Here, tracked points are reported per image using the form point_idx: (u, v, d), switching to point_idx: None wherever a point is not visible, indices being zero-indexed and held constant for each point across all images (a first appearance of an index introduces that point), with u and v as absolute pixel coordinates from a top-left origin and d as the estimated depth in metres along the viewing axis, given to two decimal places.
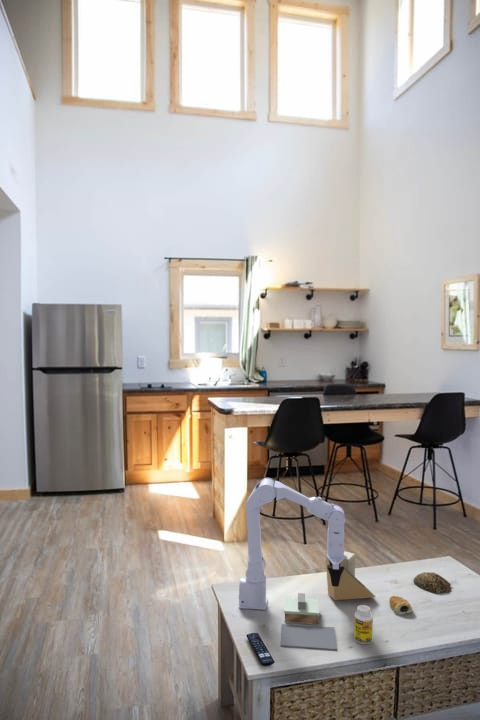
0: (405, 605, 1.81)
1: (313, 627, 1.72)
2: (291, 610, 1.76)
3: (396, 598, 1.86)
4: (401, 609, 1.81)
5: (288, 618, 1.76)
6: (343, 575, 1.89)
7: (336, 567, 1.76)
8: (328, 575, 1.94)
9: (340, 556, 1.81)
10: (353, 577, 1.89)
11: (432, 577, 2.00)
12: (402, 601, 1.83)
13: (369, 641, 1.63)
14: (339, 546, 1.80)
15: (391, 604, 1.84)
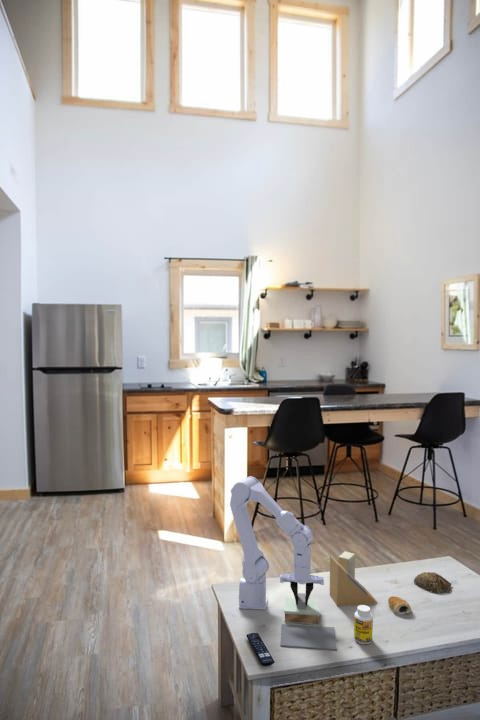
0: (404, 605, 1.81)
1: (313, 627, 1.72)
2: (291, 610, 1.76)
3: (395, 598, 1.85)
4: (401, 609, 1.81)
5: (288, 618, 1.76)
6: (347, 584, 1.86)
7: (280, 579, 1.80)
8: (331, 579, 1.92)
9: (295, 577, 1.78)
10: (357, 585, 1.87)
11: (433, 577, 2.00)
12: (401, 601, 1.83)
13: (369, 641, 1.63)
14: (294, 566, 1.78)
15: (390, 604, 1.84)
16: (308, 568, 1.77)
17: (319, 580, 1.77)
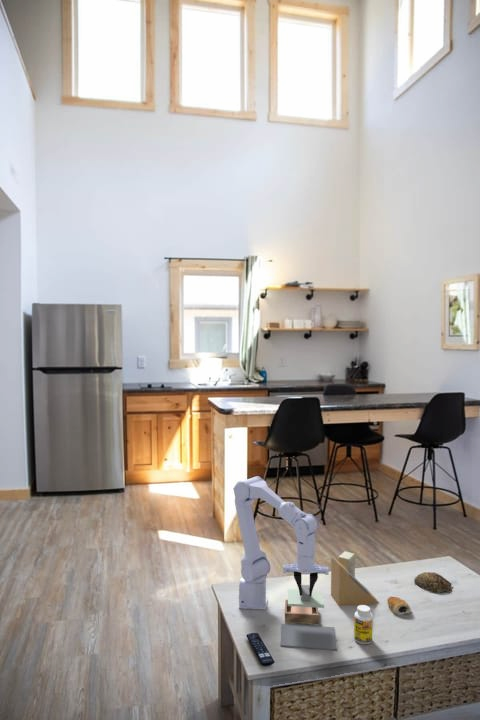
0: (404, 605, 1.81)
1: (313, 627, 1.72)
2: (295, 603, 1.69)
3: (394, 599, 1.85)
4: (400, 609, 1.81)
5: (288, 618, 1.76)
6: (349, 584, 1.86)
7: (283, 569, 1.73)
8: (333, 579, 1.92)
9: (298, 567, 1.71)
10: (359, 585, 1.87)
11: (433, 577, 2.00)
12: (400, 601, 1.83)
13: (369, 641, 1.63)
14: (297, 555, 1.71)
15: (389, 605, 1.84)
16: (312, 557, 1.70)
17: (324, 570, 1.71)
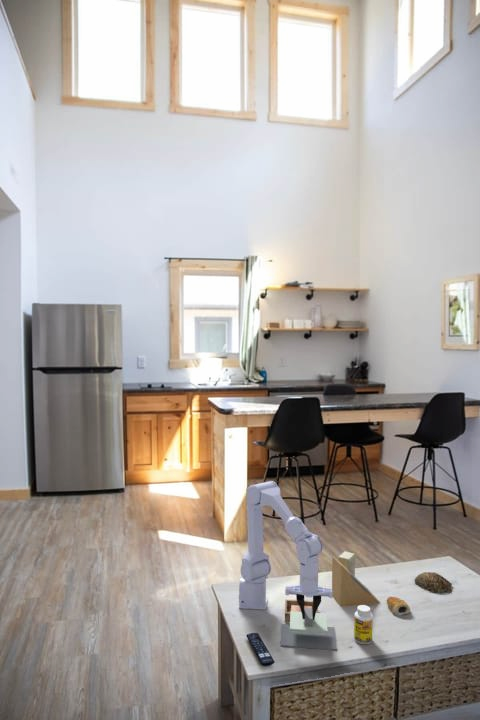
0: (403, 606, 1.81)
1: None
2: (298, 628, 1.63)
3: (394, 599, 1.85)
4: (400, 609, 1.81)
5: (288, 618, 1.76)
6: (350, 584, 1.86)
7: (285, 592, 1.67)
8: (334, 580, 1.91)
9: (301, 589, 1.65)
10: (360, 585, 1.87)
11: (433, 577, 2.00)
12: (400, 602, 1.83)
13: (369, 641, 1.63)
14: (300, 577, 1.65)
15: (389, 605, 1.84)
16: (315, 580, 1.64)
17: (327, 593, 1.64)
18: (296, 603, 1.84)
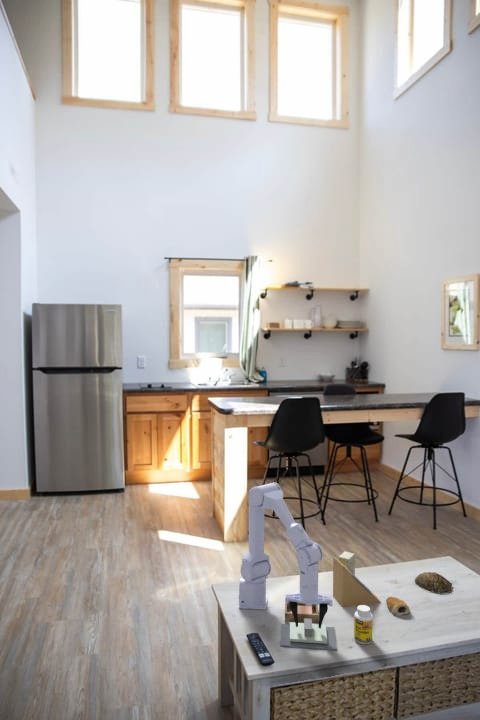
0: (403, 606, 1.81)
1: None
2: (297, 638, 1.63)
3: (393, 599, 1.85)
4: (399, 610, 1.81)
5: (288, 618, 1.76)
6: (352, 584, 1.86)
7: (285, 600, 1.67)
8: (335, 580, 1.91)
9: (301, 597, 1.65)
10: (361, 585, 1.87)
11: (434, 577, 2.00)
12: (399, 602, 1.83)
13: (369, 641, 1.63)
14: (300, 586, 1.65)
15: (388, 605, 1.84)
16: (315, 588, 1.64)
17: (327, 601, 1.65)
18: None
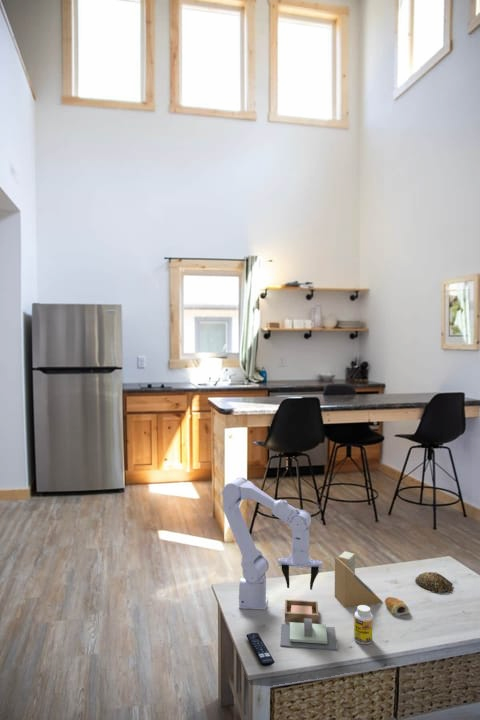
0: (402, 606, 1.81)
1: None
2: (297, 638, 1.63)
3: (392, 599, 1.85)
4: (398, 610, 1.80)
5: (288, 618, 1.76)
6: (354, 585, 1.86)
7: None
8: (337, 580, 1.91)
9: (293, 561, 1.78)
10: (364, 586, 1.87)
11: (434, 577, 2.00)
12: (398, 602, 1.83)
13: (369, 641, 1.63)
14: (292, 550, 1.78)
15: (387, 606, 1.83)
16: (306, 552, 1.77)
17: (317, 564, 1.78)
18: (296, 603, 1.84)
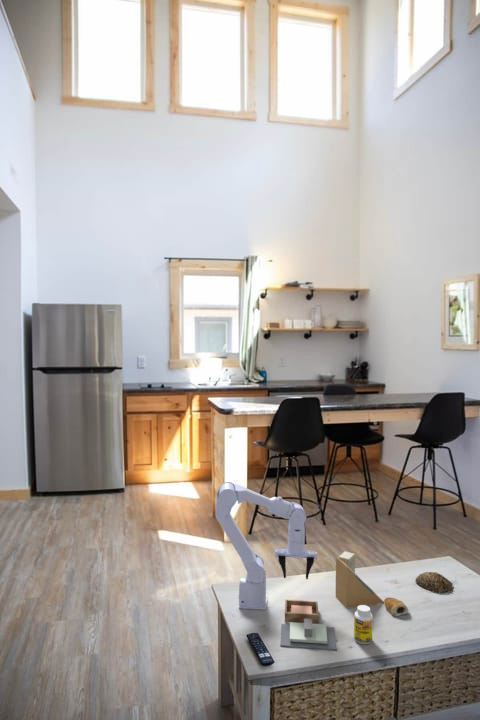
0: (401, 606, 1.80)
1: None
2: (297, 638, 1.63)
3: (391, 599, 1.85)
4: (398, 610, 1.80)
5: (288, 618, 1.76)
6: (355, 585, 1.85)
7: (275, 554, 1.87)
8: (338, 581, 1.90)
9: (289, 552, 1.85)
10: (365, 586, 1.87)
11: (434, 577, 2.00)
12: (398, 602, 1.82)
13: (369, 641, 1.63)
14: (288, 541, 1.86)
15: (387, 606, 1.83)
16: (302, 543, 1.85)
17: (312, 554, 1.85)
18: (296, 603, 1.84)
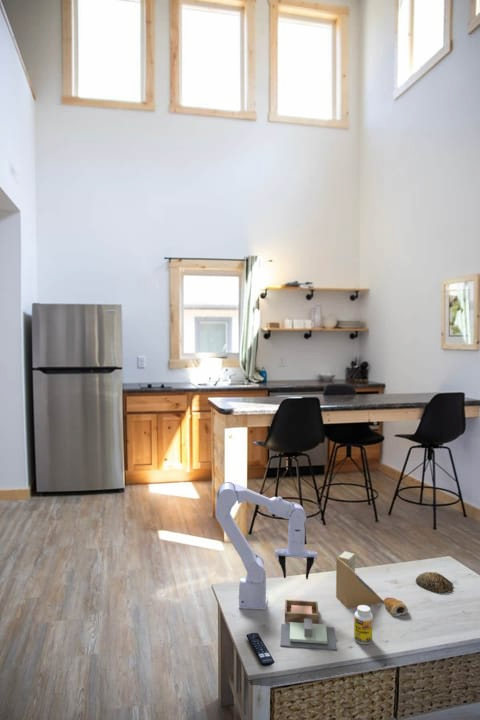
0: (401, 606, 1.80)
1: None
2: (297, 638, 1.63)
3: (391, 599, 1.85)
4: (398, 610, 1.80)
5: (288, 618, 1.76)
6: (356, 585, 1.85)
7: (275, 554, 1.87)
8: (338, 581, 1.90)
9: (289, 552, 1.85)
10: (365, 586, 1.87)
11: (435, 577, 2.00)
12: (398, 602, 1.82)
13: (369, 641, 1.63)
14: (288, 541, 1.86)
15: (387, 606, 1.83)
16: (302, 543, 1.85)
17: (312, 554, 1.85)
18: (296, 603, 1.84)
